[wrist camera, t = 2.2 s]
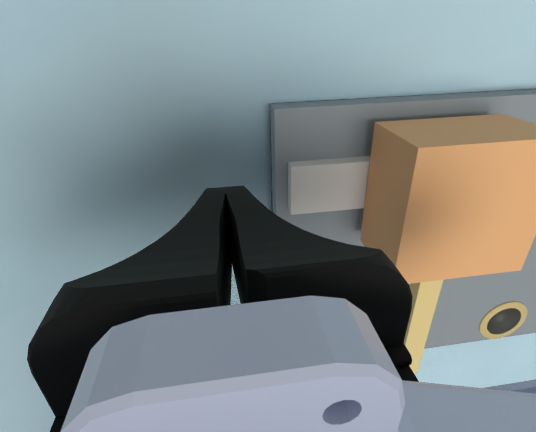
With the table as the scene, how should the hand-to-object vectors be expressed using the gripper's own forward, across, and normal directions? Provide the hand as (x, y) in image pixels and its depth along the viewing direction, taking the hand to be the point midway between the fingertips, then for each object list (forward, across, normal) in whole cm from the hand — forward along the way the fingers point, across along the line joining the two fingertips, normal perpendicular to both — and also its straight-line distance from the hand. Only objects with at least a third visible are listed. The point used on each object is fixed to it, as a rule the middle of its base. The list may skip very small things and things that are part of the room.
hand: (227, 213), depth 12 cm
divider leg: (+1, -8, +4) cm, 9 cm away
